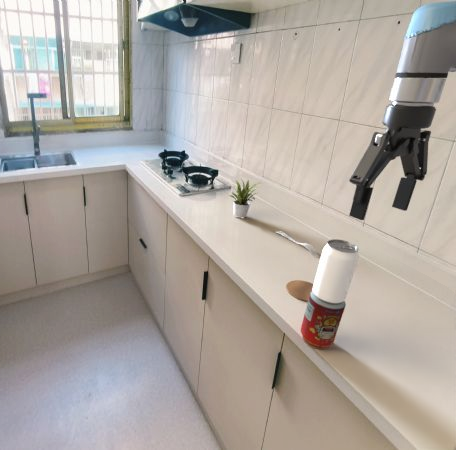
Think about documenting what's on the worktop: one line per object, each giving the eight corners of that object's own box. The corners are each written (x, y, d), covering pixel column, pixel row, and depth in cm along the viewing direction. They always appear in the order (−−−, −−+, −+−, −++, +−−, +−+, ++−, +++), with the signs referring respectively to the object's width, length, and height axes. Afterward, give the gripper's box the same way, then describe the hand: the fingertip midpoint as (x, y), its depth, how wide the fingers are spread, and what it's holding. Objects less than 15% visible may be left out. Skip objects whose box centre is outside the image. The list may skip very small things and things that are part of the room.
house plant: (266, 217, 145) (272, 180, 138) (249, 226, 135) (256, 187, 129) (236, 208, 154) (241, 173, 147) (219, 216, 144) (224, 179, 138)
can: (309, 284, 76) (321, 236, 71) (339, 289, 74) (354, 240, 70) (315, 302, 70) (329, 250, 65) (349, 306, 69) (366, 255, 64)
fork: (279, 237, 132) (280, 230, 132) (320, 256, 114) (321, 249, 113) (273, 237, 132) (274, 231, 131) (313, 257, 113) (314, 250, 112)
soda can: (310, 353, 73) (323, 306, 68) (293, 330, 80) (304, 287, 75) (339, 350, 74) (354, 304, 69) (320, 328, 81) (333, 285, 76)
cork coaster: (323, 286, 97) (323, 285, 97) (325, 305, 89) (325, 304, 89) (286, 278, 101) (286, 277, 100) (285, 296, 92) (285, 295, 92)
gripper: (429, 102, 69) (398, 199, 78) (346, 103, 59) (320, 215, 68) (473, 104, 63) (434, 210, 71) (388, 106, 53) (354, 229, 62)
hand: (378, 213), depth 70 cm, fingers open, 13 cm apart
